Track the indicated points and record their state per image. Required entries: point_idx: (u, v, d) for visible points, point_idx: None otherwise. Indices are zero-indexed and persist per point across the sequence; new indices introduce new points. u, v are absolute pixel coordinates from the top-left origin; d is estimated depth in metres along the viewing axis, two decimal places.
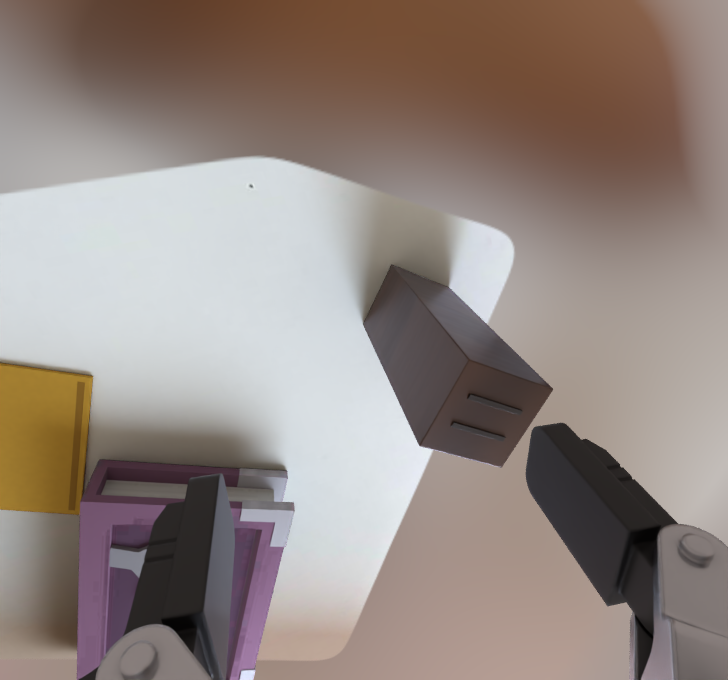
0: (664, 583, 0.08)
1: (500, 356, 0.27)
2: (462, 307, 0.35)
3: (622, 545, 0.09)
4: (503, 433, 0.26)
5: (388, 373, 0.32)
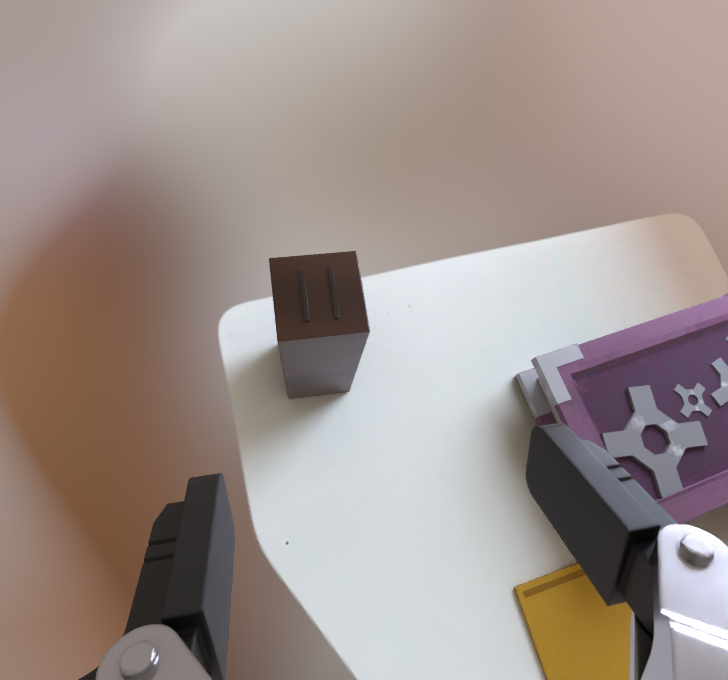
0: (664, 583, 0.08)
1: None
2: None
3: (622, 545, 0.09)
4: (325, 271, 0.30)
5: (355, 365, 0.36)
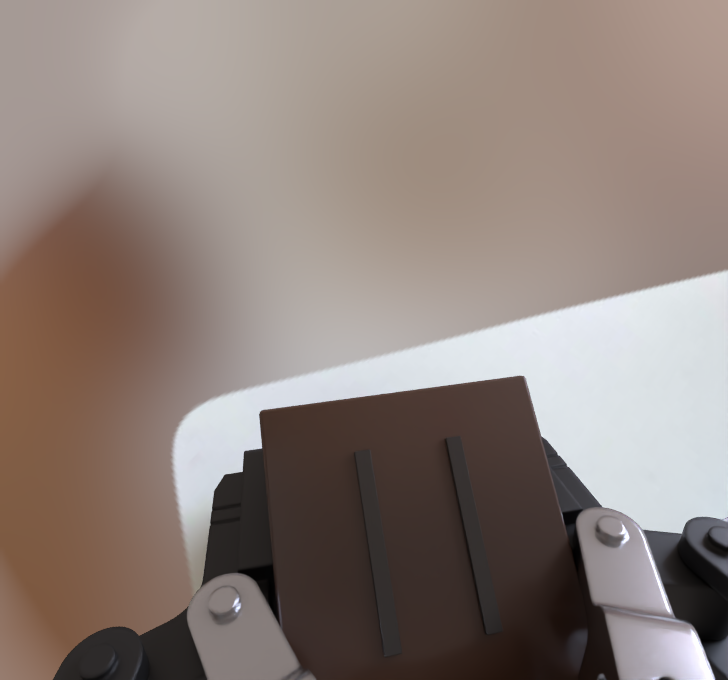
0: (589, 570, 0.08)
1: None
2: None
3: None
4: (439, 450, 0.09)
5: None
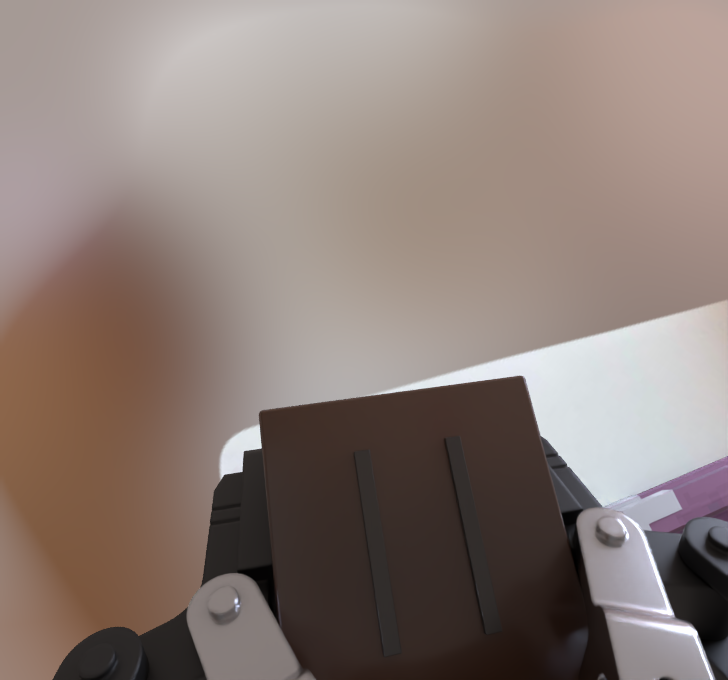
0: (589, 570, 0.08)
1: None
2: None
3: None
4: (438, 450, 0.09)
5: None
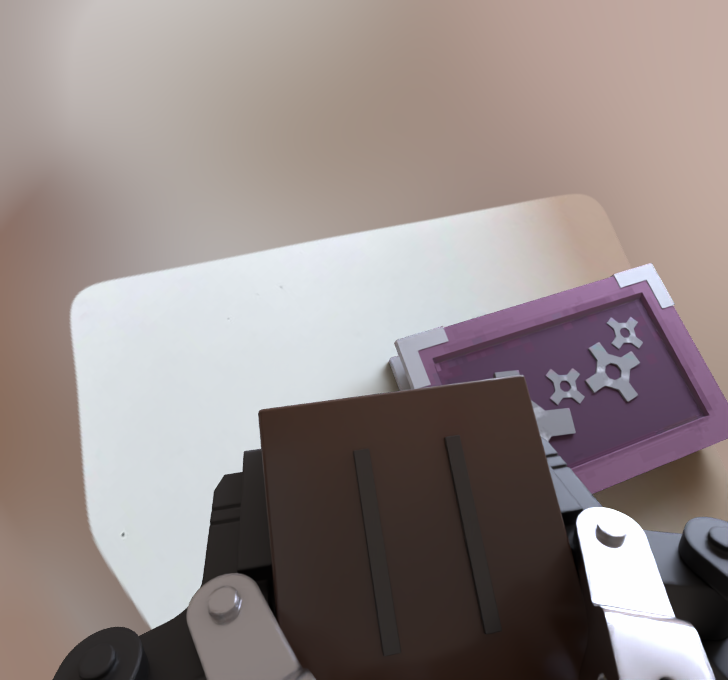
0: (590, 570, 0.08)
1: None
2: None
3: None
4: (438, 449, 0.09)
5: None
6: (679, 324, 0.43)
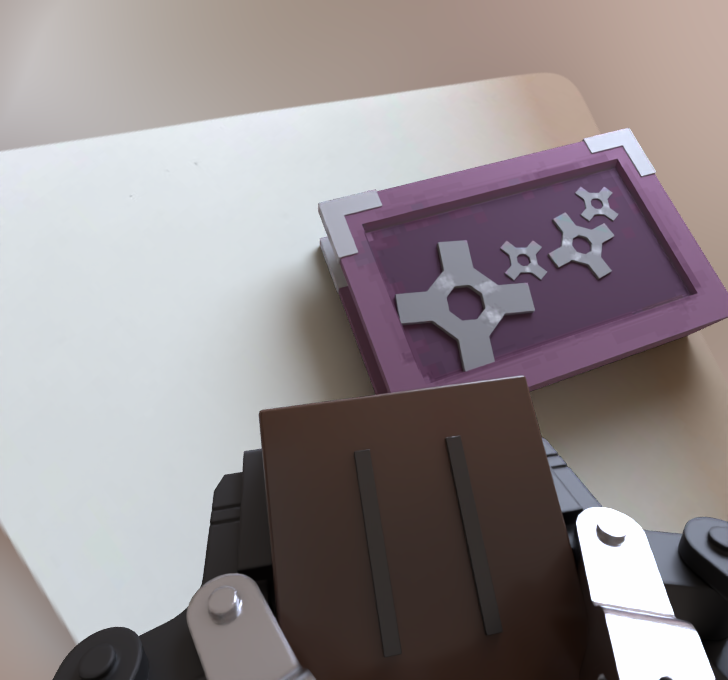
0: (590, 570, 0.08)
1: None
2: None
3: None
4: (438, 450, 0.09)
5: None
6: (661, 193, 0.36)
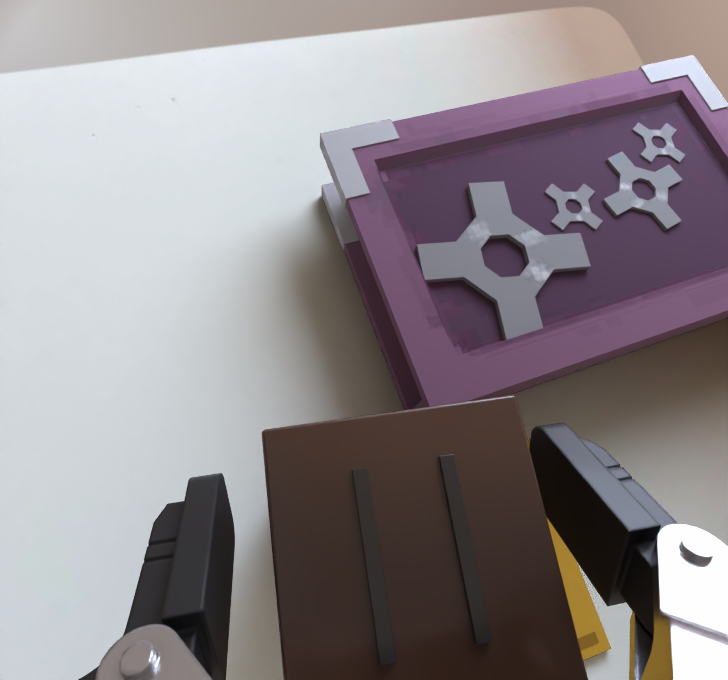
0: (664, 583, 0.08)
1: None
2: None
3: (622, 545, 0.09)
4: (432, 468, 0.10)
5: None
6: None
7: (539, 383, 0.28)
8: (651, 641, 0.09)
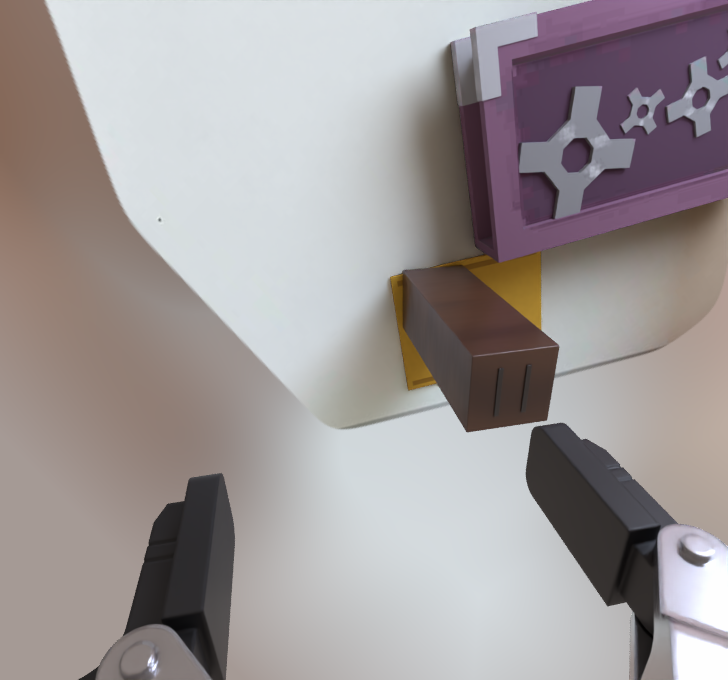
0: (664, 583, 0.08)
1: (456, 370, 0.31)
2: (419, 305, 0.38)
3: (622, 545, 0.09)
4: (523, 368, 0.29)
5: None
6: None
7: None
8: (651, 641, 0.09)
